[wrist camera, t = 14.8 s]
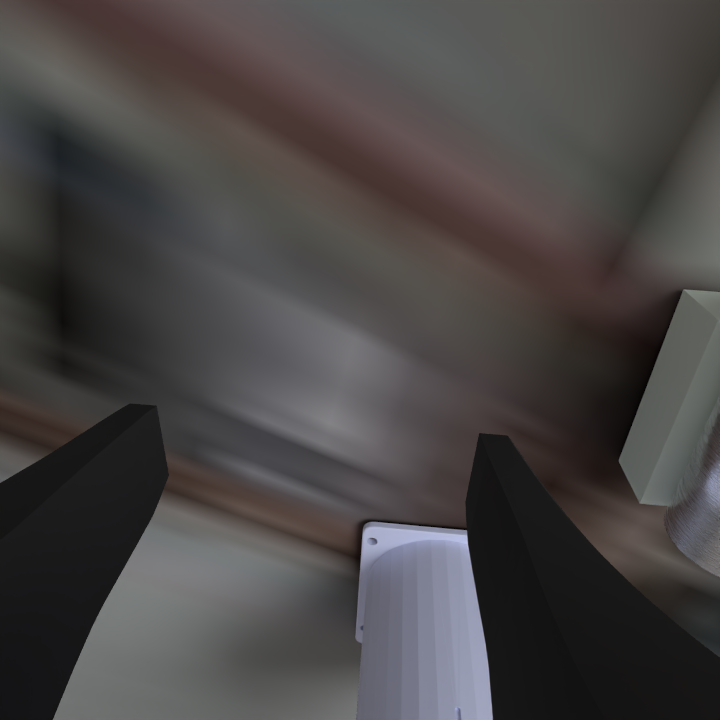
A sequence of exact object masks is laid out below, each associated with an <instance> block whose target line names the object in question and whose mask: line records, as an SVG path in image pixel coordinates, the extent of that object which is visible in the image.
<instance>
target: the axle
mask: <svg viewBox="0 0 720 720" xmlns="http://www.w3.org/2000/svg"><path fill="white" fill-rule="evenodd" d="M664 525H665V528H666V531H667V533H668V535H669V537H670V538H671V540H672V541H673V542H674V544H675V545H676V546H677V547H678V548H679V549H680V550H681V552H682V553H684V554H685V555H686V556H687V557H688V558H689V559H691V560H692V561H693V562H694V563H696V564H697V565H699V566H700V567H702V568H703V569H705V570H707V571H708V572H710V573H712V574H714V575H716V576H718V577H720V395H719V398H718V400H717V402H716V404H715V406H714V408H713V411H712V413H711V415H710V417H709V419H708V421H707V423H706V426H705V428H704V430H703V432H702V434H701V436H700V438H699V441H698V443H697V445H696V447H695V449H694V451H693V453H692V456H691V458H690V460H689V462H688V464H687V466H686V469H685V471H684V473H683V475H682V477H681V479H680V481H679V484H678V486H677V488H676V490H675V492H674V494H673V496H672V499H671V501H670V503H669V505H668V507H667V509H666V512H665V514H664Z"/></svg>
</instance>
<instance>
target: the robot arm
mask: <svg viewBox="0 0 720 720" xmlns="http://www.w3.org/2000/svg"><path fill="white" fill-rule="evenodd" d="M168 476H169V473H168V467H167V462H166V456H165V451H164V445H163V439H162V434H161V428H160V423H159V417H158V411H157V406H152V405H141V404H129V405H127V406H125V407H123V408H121V409H120V410H118V411H117V412H115V413H113V414H112V415H110V416H109V417H107V418H105V419H104V420H102V421H101V422H99V423H98V424H96V425H95V426H93V427H91V428H90V429H88V430H87V431H85V432H84V433H82V434H81V435H79V436H77V437H76V438H74V439H73V440H71V441H70V442H68V443H66V444H65V445H63V446H62V447H60V448H59V449H57V450H55V451H54V452H52V453H51V454H49V455H47V456H46V457H44V458H42V459H41V460H39V461H37V462H36V463H34V464H32V465H31V466H29V467H27V468H25V469H24V470H22V471H20V472H19V473H17V474H15V475H13V476H12V477H10V478H8V479H7V480H5V481H3V482H1V483H0V720H53V718H54V715H55V713H56V710H57V708H58V706H59V703H60V701H61V698H62V696H63V693H64V691H65V688H66V686H67V684H68V681H69V679H70V676H71V674H72V671H73V669H74V667H75V664H76V662H77V660H78V658H79V655H80V653H81V651H82V649H83V646H84V644H85V642H86V639H87V637H88V635H89V633H90V630H91V628H92V626H93V624H94V622H95V620H96V618H97V616H98V614H99V612H100V610H101V608H102V606H103V604H104V602H105V600H106V599H107V597H108V595H109V593H110V592H111V590H112V588H113V586H114V584H115V583H116V581H117V579H118V577H119V576H120V574H121V572H122V570H123V568H124V567H125V565H126V563H127V561H128V560H129V558H130V556H131V554H132V552H133V551H134V549H135V547H136V545H137V544H138V542H139V540H140V538H141V536H142V534H143V533H144V531H145V529H146V527H147V525H148V524H149V522H150V520H151V518H152V516H153V514H154V512H155V509H156V507H157V504H158V502H159V499H160V497H161V494H162V492H163V489H164V486H165V484H166V481H167V478H168ZM466 522H467V530H457V529H446V528H436V527H425V526H414V525H403V524H393V523H382V522H368V523H366V524H365V525H364V527H363V534H362V549H361V563H360V577H359V592H358V606H357V620H356V635H355V638H356V640H357V641H358V642H360V643H362V651H361V663H360V676H359V689H358V701H357V714H356V720H720V657H718V656H717V655H716V654H714V653H713V652H712V651H710V650H709V649H708V648H706V647H705V646H704V645H702V644H701V643H700V642H699V641H697V640H696V639H695V638H694V637H692V636H691V635H690V634H689V633H687V632H686V631H685V630H684V629H682V628H681V627H680V626H679V625H677V624H676V623H675V622H674V621H673V620H672V619H670V618H669V617H668V616H667V615H666V614H665V613H663V612H662V611H661V610H660V609H659V608H658V607H656V606H655V605H654V604H653V603H652V602H651V601H649V600H648V599H647V598H646V597H645V596H644V595H643V594H642V593H641V592H639V591H638V590H637V589H636V588H635V587H634V586H633V585H632V584H631V583H630V582H629V581H628V580H627V579H626V578H625V577H624V576H623V575H621V574H620V573H619V572H618V571H617V570H616V569H615V568H614V567H613V566H612V565H611V564H610V563H609V562H608V561H607V560H606V559H605V558H604V557H603V556H602V555H601V554H600V553H599V552H598V550H597V549H596V548H595V547H594V546H593V545H592V544H591V543H590V542H589V541H588V540H587V538H586V537H585V536H584V535H583V534H582V533H581V532H580V530H579V529H578V528H577V527H576V526H575V525H574V523H573V522H572V521H571V520H570V519H569V517H568V516H567V515H566V514H565V513H564V511H563V510H562V509H561V508H560V506H559V505H558V504H557V502H556V501H555V500H554V499H553V497H552V496H551V495H550V494H549V492H548V491H547V490H546V488H545V487H544V486H543V484H542V483H541V482H540V480H539V479H538V478H537V476H536V475H535V473H534V472H533V471H532V469H531V468H530V466H529V465H528V464H527V462H526V461H525V459H524V458H523V456H522V455H521V454H520V452H519V451H518V449H517V448H516V446H515V445H514V443H513V442H512V441H511V439H510V438H509V437H508V436H505V435H493V434H482V433H479V437H478V442H477V447H476V452H475V457H474V462H473V467H472V472H471V477H470V482H469V487H468V492H467V497H466ZM371 538H375V539H371Z"/></svg>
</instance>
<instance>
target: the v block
mask: <svg viewBox="0 0 720 720" xmlns="http://www.w3.org/2000/svg"><path fill="white" fill-rule="evenodd" d="M719 395H720V292H713V291H699V290H685V289H683V292H682V295H681V297H680V300H679V302H678V305H677V308H676V310H675V313H674V316H673V318H672V321H671V324H670V326H669V329H668V331H667V334H666V337H665V339H664V342H663V345H662V347H661V350H660V353H659V355H658V358H657V361H656V363H655V366H654V368H653V371H652V374H651V376H650V379H649V382H648V384H647V387H646V390H645V392H644V395H643V397H642V400H641V403H640V405H639V408H638V411H637V413H636V416H635V419H634V421H633V424H632V426H631V429H630V432H629V434H628V437H627V440H626V442H625V445H624V448H623V450H622V453H621V455H620V458H619V463H620V465H621V467H622V469H623V471H624V473H625V475H626V477H627V479H628V481H629V483H630V485H631V487H632V489H633V491H634V493H635V495H636V497H637V499H638V501H639V503H640V504H651V505H662V506H668V505H669V503H670V501H671V499H672V496H673V494H674V492H675V490H676V488H677V486H678V484H679V481H680V479H681V477H682V475H683V473H684V471H685V469H686V466H687V464H688V462H689V460H690V458H691V456H692V453H693V451H694V449H695V447H696V445H697V443H698V441H699V438H700V436H701V434H702V432H703V430H704V428H705V426H706V423H707V421H708V419H709V417H710V415H711V413H712V411H713V408H714V406H715V404H716V402H717V400H718V398H719Z"/></svg>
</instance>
